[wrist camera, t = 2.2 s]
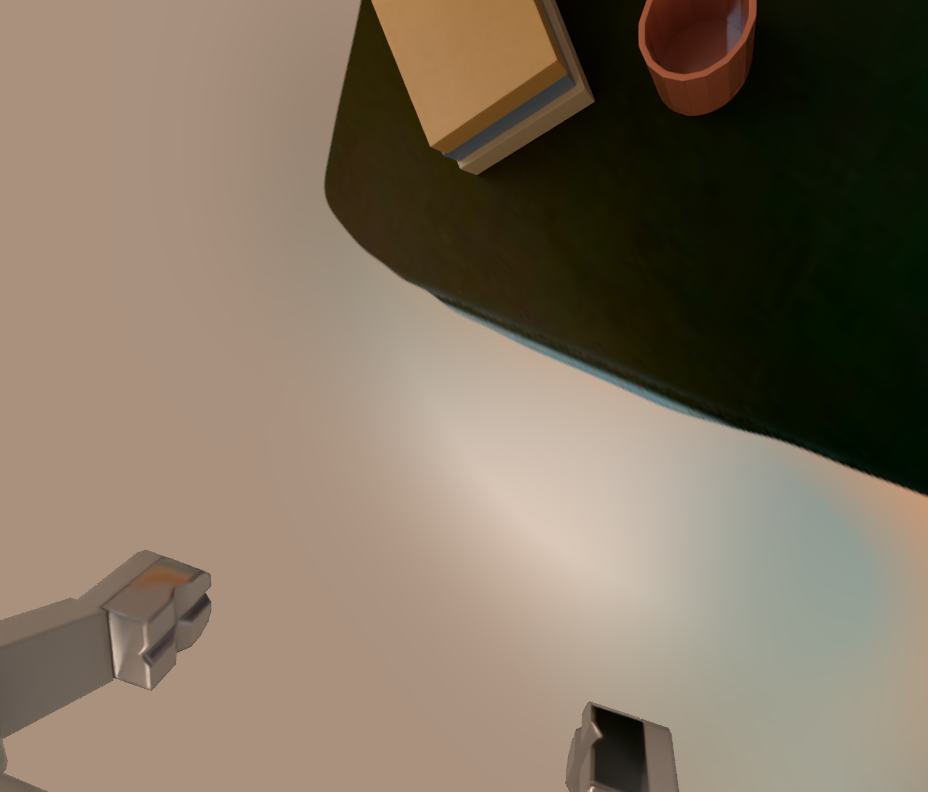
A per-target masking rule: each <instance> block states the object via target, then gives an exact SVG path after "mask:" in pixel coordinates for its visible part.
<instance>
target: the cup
mask: <svg viewBox="0 0 928 792" xmlns="http://www.w3.org/2000/svg"><path fill="white" fill-rule="evenodd" d="M756 4H757V0H647V1H646V4H645V7H644V10H643V13H642V16H641V19H640V21H639V48H640V50H641V52H642V55H643V57H644V60H645V62H646V65H647V67H648V70H649V72H650V75H651V77H652V79H653V82H654V84H655V87H656V89H657V91H658V93H659V96H660V98H661V100H662V101H663V102H664V103H665V104H666V105H667V106H668V107H669V108H670V109H672V110H673V111H675V112H677V113H679V114H683V115H689V116H697V115H703V114H707V113H710V112H712V111H715V110H717V109H719V108H720V107H722V106H723V105H725V104H726V103H727V102H729V101H730V100H731V99H732V98H733V97H734V96H735V95H736V94H737V93H738V91H739V90H740V89H741V87H742V86H743V84H744V82H745V80H746V78H747V76H748V73H749V71H750V67H751V64H752V57H753V46H754V35H755V24H756Z"/></svg>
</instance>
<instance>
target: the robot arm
mask: <svg viewBox="0 0 928 792" xmlns="http://www.w3.org/2000/svg"><path fill="white" fill-rule="evenodd" d="M210 587H211V575H210V574H209V573H207V572H205V571H203V570H200V569H197V568H194V567H192V566H189V565H186V564H184V563H181V562H179V561H176V560H173V559H171V558H167V557H165V556H162V555H159V554H156V553H154V552H151V551H148V550H144V551H141V552H138V553H136V554H135V555H133V556H132V557H131V558H130V559H128V560H127V561H126V562H125V563H123V564H122V565H121V566H120V567H118V568H117V569H116V570H114V571H113V572H112V573H111V574H109V575H108V576H107V577H106V578H104V579H103V580H102V581H100V582H99V583H98V584H97V585H95V586H94V587H93V588H92V589H90V590H89V591H88V592H86V593H85V594H84V595H83V596H81V597H80V598H79V599H78V600H76V599H72V598H69V599H66V600H63V601H60V602H56V603H53V604H50V605H47V606H44V607H41V608H38V609H35V610H32V611H28V612H25V613H22V614H19V615H16V616H13V617H10V618H6V619H4V620H0V792H47V791H45V790H42V789H40V788H38V787H35V786H33V785H31V784H28V783H26V782H23V781H21V780H19V779H16V778H14V777H12V776H9V775H7V774H5V773H3V772H4V771H5V770H6V767H7V757H6V753H5V748H4V744H3V740H2V739H3V738H5V737H7V736H9V735H11V734H13V733H15V732H16V731H19V730H20V729H22V728H24V727H26V726H28V725H30V724H32V723H33V722H36V721H37V720H39V719H41V718H43V717H45V716H47V715H49V714H51V713H52V712H54V711H56V710H58V709H60V708H62V707H64V706H66V705H68V704H70V703H71V702H73V701H75V700H77V699H79V698H81V697H83V696H85V695H87V694H88V693H90V692H92V691H94V690H96V689H98V688H100V687H102V686H104V685H105V684H107V683H109V682H111V681H113V678H115V679H118V680H121V681H124V682H127V683H130V684H133V685H136V686H139V687H142V688H144V689H147V690H150V691H152V690H153V689H154V688H155V686H157V684H158V683H159V682H160V681H161V680H162V679H163V678H164V677H165V675H166V674H167V673H168V672H169V671H170V670H171V669H172V668H173V666H174V665H175V664H176V655H177V653H178V652H180V651H182V650H184V649H187V648H189V647H191V646H192V645H193V644H194V643H195V642H196V640H197V639H198V638H199V637H200V636H201V634H202V632H203V630H204V628H205V627H206V625H207V623H208V621H209V616H210V613H211V601H210V599H209V598H208V596H207V595H206V593H205V592H206V591H207V590H208V589H209V588H210ZM566 785H567V787H568V789H569V791H570V792H679V789H678V781H677V773H676V766H675V758H674V750H673V742H672V735H671V733H670V730H669V728H667V727H664V726H661V725H658V724H655V723H652V722H649V721H646V720H643V719H640V718H638V717H635V716H632V715H629V714H626V713H623V712H620V711H617V710H614V709H611V708H608V707H605V706H602V705H599V704H596V703H592V702H588V703H587V705H586V706H585V709H584V711H583V714H582V727H581V728H578V729H576V731H575V734H574V737H573V739H572V742H571V747H570V751H569V755H568V762H567V770H566Z"/></svg>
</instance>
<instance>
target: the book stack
mask: <svg viewBox="0 0 928 792" xmlns="http://www.w3.org/2000/svg"><path fill="white" fill-rule="evenodd" d="M371 1H372V3H373V6H374V8H375V11H376V13H377V16H378V18H379V21H380V23H381V26H382V28H383V30H384V33H385V35H386V38H387V40H388V43H389V45H390V48H391V50H392V53H393V55H394V58H395V60H396V63H397V65H398V68H399V70H400V73H401V75H402V78H403V80H404V83H405V85H406V88H407V90H408V92H409V95H410V97H411V100H412V102H413V105H414V107H415V110H416V112H417V115H418V117H419V120H420V122H421V125H422V127H423V130H424V132H425V135H426V137H427V140H428V142H429V145H430V147H432V148H434V149H437V150H439V151H441V152H442V154H443V155H444V156H447V157H449V158H452V159H454V160H456V161H457V162H458V164H459V167H460V169H462V170H465V171H468V172H470V173H473V174H475V175H478V174H479V173H481V172H482V171H484V170H486V169H487V168H489V167H491V166H492V165H494V164H495V163H497V162H499V161H500V160H502V159H503V158H505V157H507V156H508V155H510V154H511V153H513V152H515V151H516V150H518V149H520V148H521V147H523V146H524V145H526V144H528V143H529V142H531V141H532V140H534V139H536V138H537V137H539V136H540V135H542V134H544V133H545V132H547V131H548V130H550V129H552V128H553V127H555V126H557V125H558V124H560V123H561V122H563V121H565V120H566V119H568V118H569V117H571V116H573V115H574V114H576V113H577V112H579V111H581V110H582V109H584V108H586V107H587V106H589V105H590V104H592V103H594V102H595V99H594V97H593V94H592V92H591V89H590V87H589V84H588V82H587V79H586V77H585V74H584V72H583V69H582V67H581V64H580V62H579V59H578V57H577V54H576V52H575V49H574V47H573V44H572V42H571V39H570V36H569V34H568V31H567V29H566V26H565V24H564V21H563V19H562V16H561V14H560V11H559V9H558V6H557V4H556V1H555V0H371Z"/></svg>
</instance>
